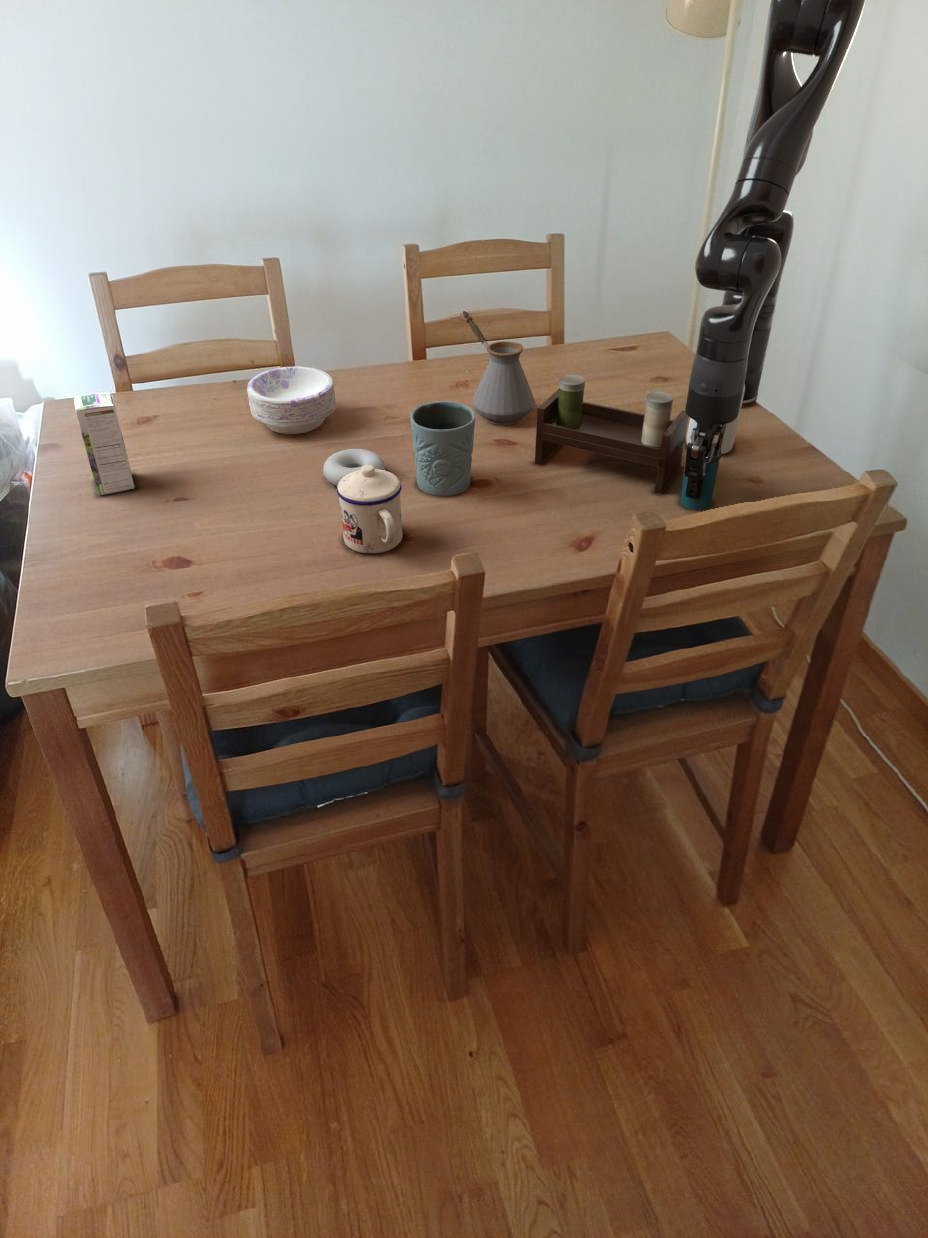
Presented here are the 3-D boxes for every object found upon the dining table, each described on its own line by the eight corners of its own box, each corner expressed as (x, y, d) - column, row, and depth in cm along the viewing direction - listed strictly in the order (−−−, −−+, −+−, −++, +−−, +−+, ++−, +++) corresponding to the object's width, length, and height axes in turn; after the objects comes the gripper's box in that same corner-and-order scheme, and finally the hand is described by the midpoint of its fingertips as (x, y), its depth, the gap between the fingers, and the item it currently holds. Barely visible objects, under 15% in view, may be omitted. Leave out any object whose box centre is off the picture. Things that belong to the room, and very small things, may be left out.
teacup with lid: (332, 531, 131) (324, 461, 123) (389, 516, 134) (384, 447, 127) (364, 572, 122) (357, 499, 115) (423, 555, 126) (420, 482, 118)
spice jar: (684, 491, 139) (693, 439, 134) (715, 499, 138) (725, 446, 132) (674, 505, 136) (683, 453, 130) (706, 513, 134) (716, 460, 129)
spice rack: (558, 439, 154) (563, 364, 146) (680, 467, 146) (693, 389, 138) (534, 463, 147) (538, 386, 139) (661, 494, 139) (673, 413, 131)
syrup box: (95, 480, 144) (70, 396, 135) (132, 473, 145) (110, 390, 137) (98, 496, 139) (73, 410, 131) (137, 489, 141) (114, 404, 132)
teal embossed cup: (445, 462, 148) (444, 395, 140) (488, 483, 142) (489, 414, 135) (400, 483, 142) (396, 414, 135) (443, 506, 136) (441, 435, 129)
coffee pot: (546, 421, 160) (550, 340, 151) (491, 434, 156) (492, 352, 147) (488, 380, 175) (489, 304, 166) (437, 392, 171) (435, 314, 162)
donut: (370, 497, 139) (394, 467, 146) (368, 478, 137) (393, 449, 144) (313, 487, 141) (340, 459, 149) (311, 468, 139) (338, 440, 147)
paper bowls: (314, 447, 152) (309, 404, 148) (237, 435, 156) (230, 393, 151) (351, 411, 164) (347, 370, 159) (278, 401, 168) (272, 361, 163)
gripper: (729, 407, 119) (708, 516, 129) (755, 371, 129) (734, 475, 139) (675, 397, 121) (659, 504, 132) (704, 362, 131) (687, 464, 142)
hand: (697, 488), depth 135 cm, fingers closed on spice jar, 4 cm apart
